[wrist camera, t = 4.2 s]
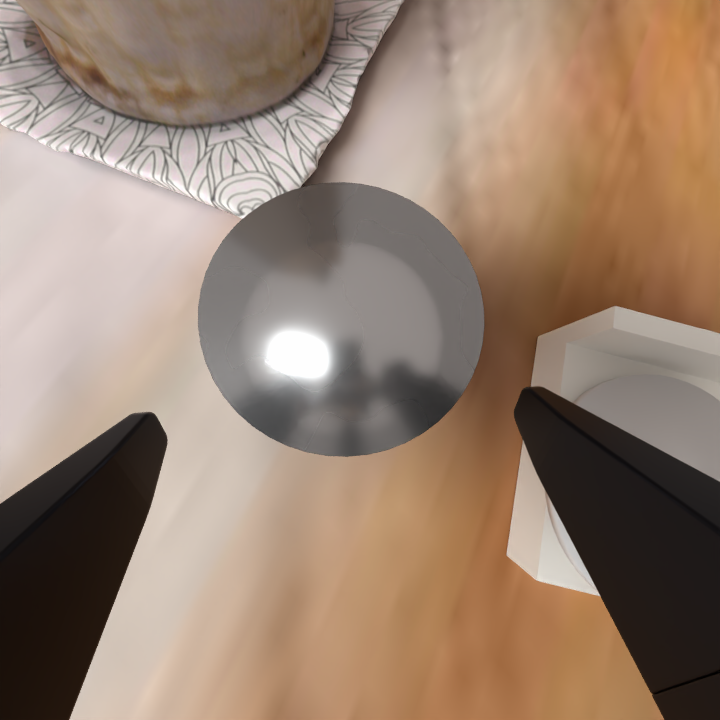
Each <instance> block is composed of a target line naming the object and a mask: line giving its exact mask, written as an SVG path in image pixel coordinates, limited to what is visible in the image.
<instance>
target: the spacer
mask: <svg viewBox="0 0 720 720" xmlns="http://www.w3.org/2000/svg"><path fill="white" fill-rule="evenodd" d="M198 329H199V336H200V343H201V348H202V351H203V355H204V358H205V362H206V364H207V367H208V369H209V371H210V373H211V376H212V378H213V380H214V382H215V383H216V385H217V387H218V388H219V390H220V391H221V393H222V394H223V396H224V398H225V399H226V400H227V401H228V402H229V403H230V405H231V406H232V407H233V408H234V409H235V411H236V412H237V413H238V414H239V415H241V416H242V417H243V418H244V419H245V420H246V421H247V422H248V423H250V424H251V425H252V426H253V427H255V428H256V429H258V430H259V431H261V432H262V433H264V434H265V435H267V436H268V437H270V438H272V439H274V440H276V441H278V442H280V443H282V444H284V445H287V446H289V447H292V448H295V449H299V450H302V451H305V452H309V453H314V454H320V455H325V456H345V457H348V456H359V455H368V454H372V453H377V452H381V451H385V450H388V449H391V448H394V447H396V446H399V445H401V444H404V443H406V442H408V441H410V440H412V439H413V438H415V437H417V436H419V435H421V434H422V433H424V432H425V431H426V430H428V429H429V428H430V427H432V426H433V425H434V424H436V423H437V422H438V421H439V420H440V419H441V418H442V417H443V416H444V415H445V414H446V413H447V412H448V411H449V410H450V409H451V408H452V407H453V406H454V404H455V403H456V402H457V401H458V399H459V398H460V397H461V395H462V394H463V392H464V390H465V389H466V387H467V385H468V383H469V382H470V380H471V378H472V376H473V373H474V371H475V368H476V366H477V363H478V360H479V356H480V352H481V348H482V344H483V334H484V307H483V301H482V294H481V290H480V287H479V283H478V280H477V276H476V274H475V272H474V269H473V267H472V265H471V263H470V260H469V258H468V257H467V255H466V253H465V252H464V250H463V248H462V247H461V245H460V244H459V243H458V241H457V240H456V239H455V237H454V236H453V235H452V234H451V232H450V231H449V230H448V229H447V228H446V227H445V226H444V225H443V224H442V223H441V222H440V221H439V220H438V219H436V218H435V217H434V216H433V215H431V214H430V213H429V212H428V211H426V210H425V209H424V208H422V207H420V206H419V205H417V204H415V203H414V202H412V201H411V200H409V199H407V198H404V197H402V196H400V195H398V194H396V193H393V192H390V191H387V190H384V189H381V188H378V187H373V186H369V185H364V184H356V183H345V182H341V183H322V184H315V185H309V186H305V187H301V188H298V189H294V190H291V191H288V192H286V193H283V194H281V195H278V196H276V197H274V198H272V199H271V200H269V201H267V202H265V203H263V204H261V205H260V206H259V207H257V208H256V209H254V210H253V211H252V212H250V213H249V214H248V215H246V216H245V217H244V218H243V219H242V220H241V221H240V222H239V223H238V224H237V225H236V226H235V227H234V228H233V229H232V230H231V231H230V233H229V234H228V235H227V236H226V237H225V239H224V240H223V241H222V243H221V244H220V246H219V248H218V249H217V251H216V252H215V254H214V256H213V258H212V260H211V262H210V264H209V267H208V269H207V271H206V274H205V277H204V281H203V284H202V288H201V292H200V299H199V306H198Z"/></svg>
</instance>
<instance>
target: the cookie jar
mask: <svg viewBox="0 0 720 720" xmlns="http://www.w3.org/2000/svg"><path fill="white" fill-rule="evenodd" d="M404 1H405V0H0V123H1V124H2V125H4V126H5V127H7V128H8V129H10V130H14V131H20V132H25V133H26V134H28V135H30V136H31V137H33V138H34V139H36V140H37V141H39V142H41V143H42V144H44V145H46V146H48V147H50V148H52V149H53V150H55V151H57V152H67V151H68V152H70V153H72V154H75V155H78V156H82V157H85V158H88V159H91V160H94V161H97V162H99V163H102V164H105V165H107V166H110V167H112V168H115V169H117V170H120V171H122V172H125V173H127V174H130V175H132V176H135V177H137V178H140V179H142V180H145V181H148V182H150V183H153V184H156V185H158V186H161V187H164V188H166V189H169V190H172V191H174V192H177V193H179V194H182V195H185V196H188V197H190V198H193V199H195V200H198V201H200V202H203V203H205V204H208V205H210V206H213V207H215V208H218V209H220V210H223V211H225V212H228V213H230V214H233V215H235V216H238V217H240V218H242V219H243V218H244V217H245V216H246V215H248V214H249V213H250V212H252V211H253V210H254V209H256V208H257V207H259V206H260V205H261V204H263V203H265V202H267V201H269V200H271V199H272V198H274V197H276V196H278V195H281V194H283V193H286V192H288V191H291V190H294V189H298V188H301V186H302V184H303V183H304V182H305V181H306V180H307V179H308V178H309V177H310V176H311V175H312V173H313V172H314V171H315V170H316V169H317V168H318V160H319V158H320V157H321V155H322V154H323V152H324V151H325V149H326V147H327V145H328V144H329V142H330V141H331V140H332V139H333V137H334V136H335V135H336V134H337V133H338V132H339V130H340V128H341V126H342V124H343V122H344V120H345V118H346V116H347V114H348V112H349V111H350V109H351V106H352V101H353V97H354V94H355V91H356V88H357V85H358V81H359V79H360V77H361V75H362V73H363V72H364V70H365V68H366V66H367V63H368V62H369V60H370V59H371V57H372V55H373V54H374V52H375V50H376V48H377V46H378V44H379V42H380V40H381V38H382V37H383V35H384V33H385V32H386V30H387V29H388V27H389V26H390V25H391V23H392V22H393V20H394V19H395V17H396V15H397V12H398V10H399V8H400V6H401V5H402V3H403V2H404Z"/></svg>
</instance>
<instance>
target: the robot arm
mask: <svg viewBox="0 0 720 720" xmlns="http://www.w3.org/2000/svg"><path fill="white" fill-rule="evenodd" d="M514 418H515V421H516V424H517V426H518V429H519V431H520V434H521V436H522V439H523V441H524V444H525V446H526V449H527V452H528V454H529V457H530V459H531V462H532V464H533V466H534V469H535V471H536V473H537V475H538V477H539V479H540V481H541V483H542V485H543V487H544V489H545V491H546V493H547V495H548V497H549V499H550V501H551V502H552V504H553V506H554V508H555V510H556V512H557V514H558V516H559V518H560V520H561V522H562V524H563V525H564V527H565V529H566V531H567V533H568V535H569V537H570V539H571V541H572V543H573V545H574V547H575V548H576V550H577V552H578V554H579V556H580V558H581V560H582V562H583V564H584V566H585V568H586V570H587V571H588V573H589V575H590V577H591V579H592V581H593V583H594V585H595V587H596V589H597V591H598V593H599V594H600V596H601V598H602V600H603V602H604V604H605V606H606V608H607V610H608V612H609V614H610V616H611V617H612V619H613V621H614V623H615V625H616V627H617V629H618V631H619V633H620V635H621V637H622V639H623V640H624V642H625V644H626V646H627V648H628V650H629V652H630V654H631V656H632V658H633V660H634V662H635V663H636V665H637V667H638V669H639V671H640V673H641V675H642V677H643V679H644V681H645V683H646V685H647V686H648V688H649V690H650V692H651V693H652V696H653V699H654V700H655V702H656V704H657V706H658V708H659V710H660V712H661V714H662V716H663V718H664V720H720V481H718V480H716V479H714V478H712V477H710V476H708V475H707V474H705V473H703V472H701V471H699V470H697V469H695V468H694V467H692V466H690V465H688V464H686V463H684V462H682V461H680V460H679V459H677V458H675V457H673V456H671V455H669V454H667V453H666V452H664V451H662V450H660V449H658V448H656V447H654V446H652V445H651V444H649V443H647V442H645V441H643V440H641V439H639V438H637V437H636V436H634V435H632V434H630V433H628V432H626V431H624V430H623V429H621V428H619V427H617V426H615V425H613V424H611V423H609V422H608V421H606V420H604V419H602V418H600V417H598V416H596V415H594V414H593V413H591V412H589V411H587V410H585V409H583V408H581V407H580V406H578V405H576V404H574V403H572V402H570V401H568V400H566V399H565V398H563V397H561V396H559V395H557V394H555V393H553V392H552V391H550V390H548V389H546V388H544V387H541V386H533V387H525V388H524V389H523V390H522V391H521V394H520V396H519V399H518V401H517V404H516V406H515V409H514ZM166 448H167V435H166V433H165V431H164V429H163V427H162V426H161V424H160V422H159V420H158V418H157V416H156V415H155V414H154V413H152V412H142V413H133V414H131V415H129V416H128V417H126V418H125V419H123V420H122V421H120V422H119V423H117V424H116V425H115V426H113V427H112V428H110V429H109V430H107V431H106V432H104V433H103V434H101V435H100V436H98V437H97V438H96V439H94V440H93V441H91V442H90V443H88V444H87V445H85V446H84V447H82V448H81V449H79V450H78V451H77V452H75V453H74V454H72V455H71V456H69V457H68V458H66V459H65V460H63V461H62V462H60V463H59V464H58V465H56V466H55V467H53V468H52V469H50V470H49V471H47V472H46V473H44V474H43V475H41V476H40V477H39V478H37V479H36V480H34V481H33V482H31V483H30V484H28V485H27V486H25V487H24V488H23V489H21V490H20V491H18V492H17V493H15V494H14V495H12V496H11V497H9V498H8V499H6V500H5V501H4V502H2V503H1V504H0V720H69V719H70V716H71V714H72V711H73V708H74V706H75V703H76V701H77V698H78V695H79V693H80V690H81V688H82V685H83V682H84V680H85V677H86V675H87V672H88V669H89V667H90V664H91V662H92V659H93V656H94V654H95V651H96V648H97V646H98V643H99V641H100V638H101V635H102V633H103V630H104V628H105V625H106V622H107V620H108V617H109V615H110V612H111V609H112V607H113V604H114V602H115V599H116V596H117V594H118V591H119V588H120V586H121V583H122V581H123V578H124V575H125V573H126V570H127V568H128V565H129V562H130V560H131V557H132V555H133V552H134V549H135V547H136V544H137V542H138V539H139V536H140V534H141V531H142V529H143V526H144V523H145V521H146V518H147V515H148V512H149V510H150V507H151V503H152V500H153V497H154V493H155V489H156V485H157V482H158V478H159V474H160V470H161V466H162V463H163V459H164V455H165V451H166Z"/></svg>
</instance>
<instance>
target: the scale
mask: <svg viewBox="0 0 720 720" xmlns="http://www.w3.org/2000/svg"><path fill="white" fill-rule="evenodd" d="M533 386H541V387H544V388H546V389H548V390H550V391H552V392H553V393H555V394H557V395H559V396H561V397H563V398H565V399H566V400H568V401H570V402H572V403H574V404H576V405H578V406H580V407H581V408H583V409H585V410H587V411H589V412H591V413H593V414H594V415H596V416H598V417H600V418H602V419H604V420H606V421H608V422H609V423H611V424H613V425H615V426H617V427H619V428H621V429H623V430H624V431H626V432H628V433H630V434H632V435H634V436H636V437H637V438H639V439H641V440H643V441H645V442H647V443H649V444H651V445H652V446H654V447H656V448H658V449H660V450H662V451H664V452H666V453H667V454H669V455H671V456H673V457H675V458H677V459H679V460H680V461H682V462H684V463H686V464H688V465H690V466H692V467H694V468H695V469H697V470H699V471H701V472H703V473H705V474H707V475H708V476H710V477H712V478H714V479H716V480H718V481H720V333H716V332H713V331H709V330H706V329H701V328H697V327H693V326H690V325H686V324H682V323H678V322H674V321H671V320H667V319H663V318H659V317H656V316H652V315H648V314H644V313H640V312H637V311H633V310H629V309H625V308H622V307H618V306H613V307H611V308H608V309H606V310H603V311H601V312H598V313H596V314H593V315H591V316H588V317H586V318H583V319H581V320H578V321H576V322H573V323H571V324H568V325H565V326H563V327H560V328H558V329H555V330H553V331H550V332H548V333H545V334H543V335H540V336H538V339H537V346H536V353H535V360H534V367H533V374H532V381H531V387H533ZM507 556H508V557H509V558H510V559H512V560H513V561H514V562H515V563H516V564H517V565H519V566H520V567H521V568H522V569H523V570H525V571H526V572H527V573H528V574H529V575H531V576H532V577H533V578H534V579H535V580H537V581H540V582H545V583H549V584H553V585H557V586H561V587H565V588H569V589H573V590H577V591H581V592H585V593H589V594H594V595H598V596H600V594H599V593H598V591H597V589H596V587H595V585H594V583H593V581H592V579H591V577H590V575H589V573H588V571H587V570H586V568H585V566H584V564H583V562H582V560H581V558H580V556H579V554H578V552H577V550H576V548H575V547H574V545H573V543H572V541H571V539H570V537H569V535H568V533H567V531H566V529H565V527H564V525H563V524H562V522H561V520H560V518H559V516H558V514H557V512H556V510H555V508H554V506H553V504H552V502H551V501H550V499H549V497H548V495H547V493H546V491H545V489H544V487H543V485H542V483H541V481H540V479H539V477H538V475H537V473H536V471H535V469H534V466H533V464H532V462H531V459H530V457H529V454H528V452H527V449H526V446H525V444H524V441H523V444H522V450H521V457H520V464H519V471H518V478H517V485H516V492H515V499H514V506H513V513H512V520H511V527H510V534H509V541H508V548H507Z"/></svg>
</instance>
